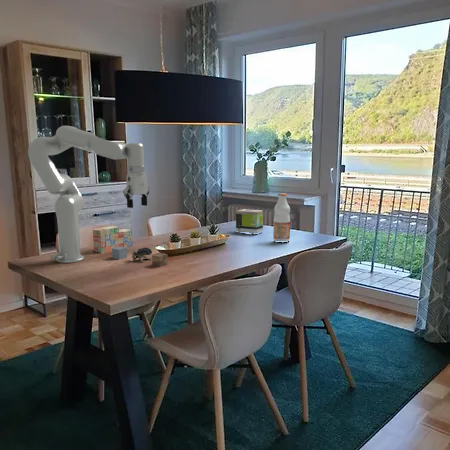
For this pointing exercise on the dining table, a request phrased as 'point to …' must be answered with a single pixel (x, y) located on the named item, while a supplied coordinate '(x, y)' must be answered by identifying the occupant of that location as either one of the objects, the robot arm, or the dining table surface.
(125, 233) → the stack of blocks
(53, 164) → the robot arm
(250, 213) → the tea box
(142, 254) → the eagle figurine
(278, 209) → the fruit juice
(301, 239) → the dining table surface
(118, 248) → the slate grey block
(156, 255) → the walnut block
